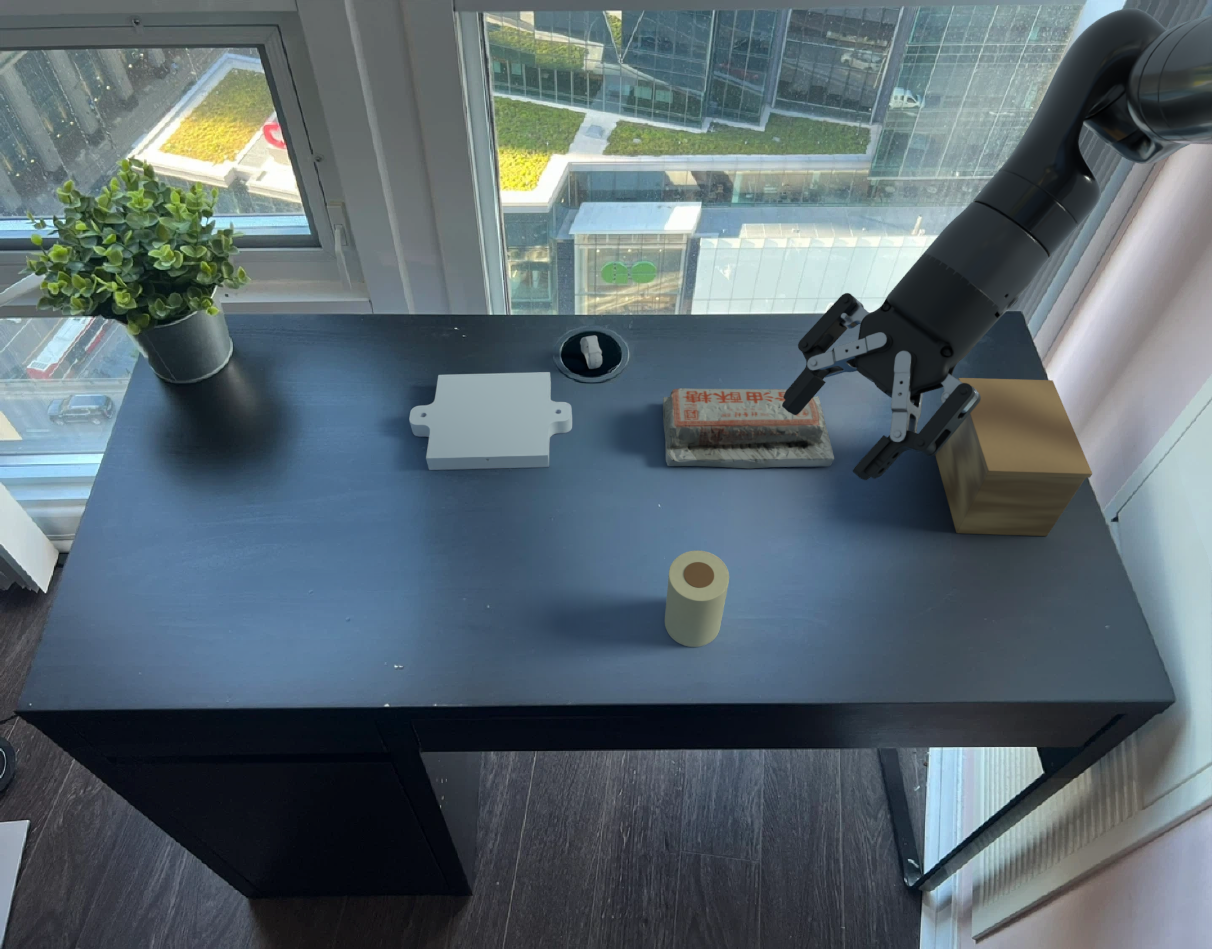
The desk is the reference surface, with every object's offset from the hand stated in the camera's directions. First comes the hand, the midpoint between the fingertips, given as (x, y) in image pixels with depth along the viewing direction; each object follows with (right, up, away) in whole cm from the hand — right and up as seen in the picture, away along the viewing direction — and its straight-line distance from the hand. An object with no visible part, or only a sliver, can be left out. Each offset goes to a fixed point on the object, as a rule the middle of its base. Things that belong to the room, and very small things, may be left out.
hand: (822, 442), depth 69 cm
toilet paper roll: (-10, -16, +10) cm, 21 cm away
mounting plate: (-31, +3, +27) cm, 41 cm away
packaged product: (-2, +2, +25) cm, 25 cm away
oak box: (+22, -4, +20) cm, 30 cm away
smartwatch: (-19, +11, +33) cm, 40 cm away
